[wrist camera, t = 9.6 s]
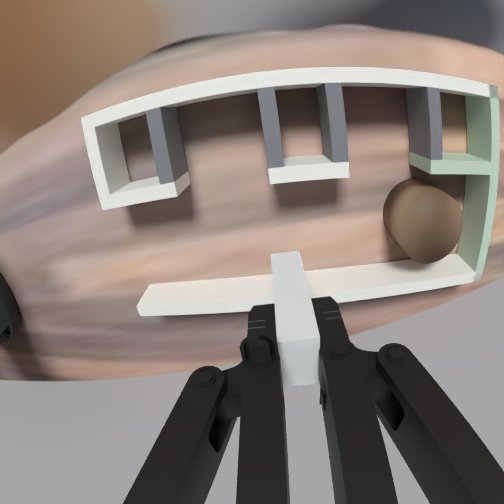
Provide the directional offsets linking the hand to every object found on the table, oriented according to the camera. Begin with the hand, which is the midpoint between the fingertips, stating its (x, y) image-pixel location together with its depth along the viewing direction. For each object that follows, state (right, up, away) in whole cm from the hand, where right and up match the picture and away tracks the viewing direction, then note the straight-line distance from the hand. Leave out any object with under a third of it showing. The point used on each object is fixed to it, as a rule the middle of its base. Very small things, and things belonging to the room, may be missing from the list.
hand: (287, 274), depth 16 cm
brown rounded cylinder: (+11, +5, +6) cm, 13 cm away
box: (+3, +6, +5) cm, 8 cm away
